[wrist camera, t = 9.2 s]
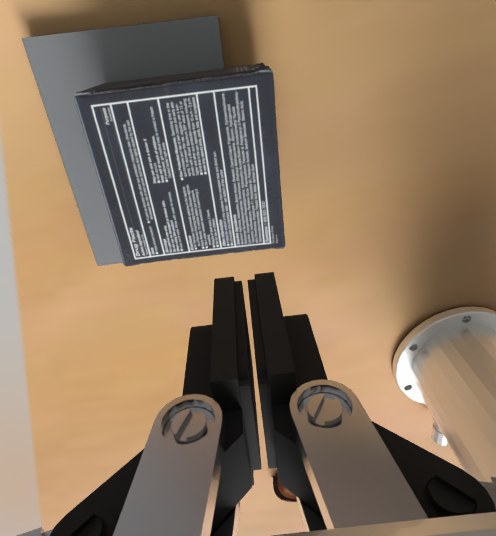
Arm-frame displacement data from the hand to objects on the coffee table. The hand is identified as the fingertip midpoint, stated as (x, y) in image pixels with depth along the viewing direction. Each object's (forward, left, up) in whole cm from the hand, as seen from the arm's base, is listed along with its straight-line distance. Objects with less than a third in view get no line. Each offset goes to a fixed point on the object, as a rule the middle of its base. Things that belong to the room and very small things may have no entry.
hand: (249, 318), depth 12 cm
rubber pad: (0, +6, -21) cm, 22 cm away
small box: (0, -3, -16) cm, 17 cm away
